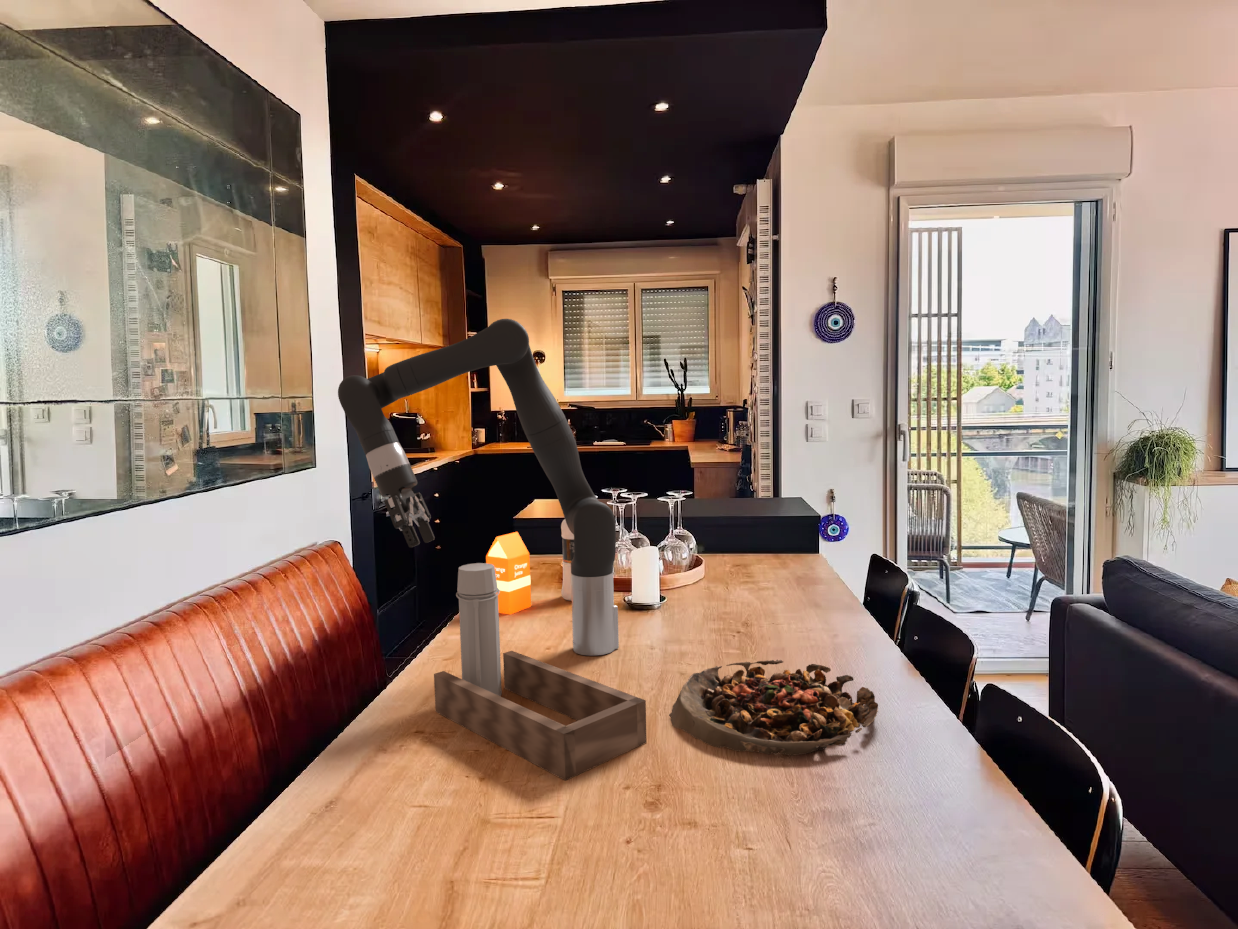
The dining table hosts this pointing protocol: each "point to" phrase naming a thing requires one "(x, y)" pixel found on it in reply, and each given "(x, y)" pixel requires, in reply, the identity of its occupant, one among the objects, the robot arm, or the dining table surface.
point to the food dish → (771, 709)
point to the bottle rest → (561, 750)
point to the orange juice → (511, 572)
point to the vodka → (567, 560)
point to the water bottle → (479, 626)
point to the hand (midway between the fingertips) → (422, 543)
